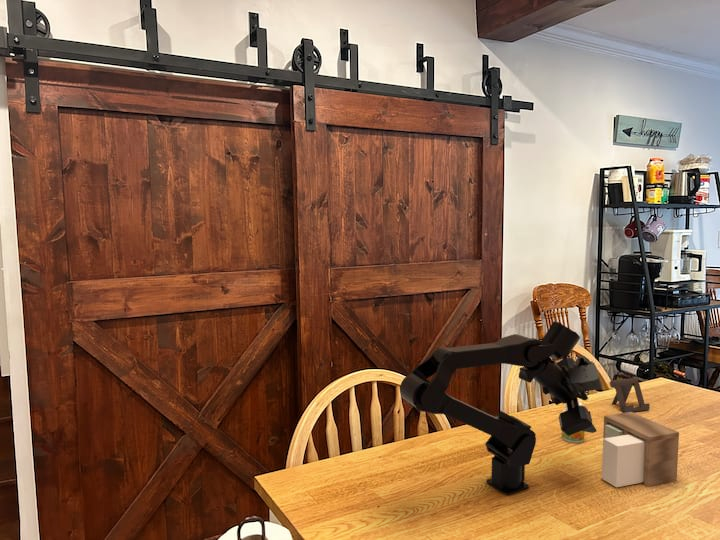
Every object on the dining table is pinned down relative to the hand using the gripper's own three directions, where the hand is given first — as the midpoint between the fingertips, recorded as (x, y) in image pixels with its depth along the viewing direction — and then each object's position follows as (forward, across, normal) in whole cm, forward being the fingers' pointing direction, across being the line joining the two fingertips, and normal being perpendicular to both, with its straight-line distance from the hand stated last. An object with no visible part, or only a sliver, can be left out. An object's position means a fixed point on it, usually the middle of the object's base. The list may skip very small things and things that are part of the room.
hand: (590, 414), depth 120 cm
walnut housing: (+16, -6, -1) cm, 17 cm away
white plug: (+11, -10, 0) cm, 15 cm away
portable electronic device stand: (+38, +31, +5) cm, 49 cm away
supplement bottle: (+15, +8, +12) cm, 21 cm away
